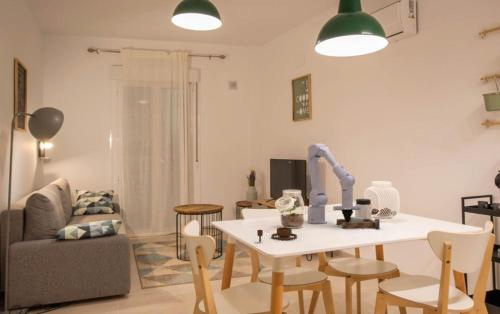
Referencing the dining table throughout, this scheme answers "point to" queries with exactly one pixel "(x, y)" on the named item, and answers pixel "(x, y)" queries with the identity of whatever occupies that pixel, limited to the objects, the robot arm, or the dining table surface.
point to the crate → (356, 219)
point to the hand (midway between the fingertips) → (347, 223)
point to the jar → (363, 208)
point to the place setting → (280, 234)
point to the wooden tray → (359, 224)
